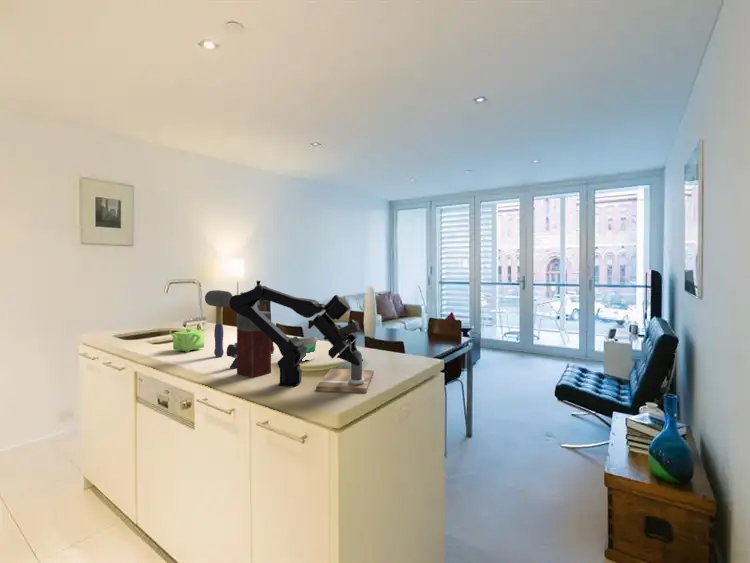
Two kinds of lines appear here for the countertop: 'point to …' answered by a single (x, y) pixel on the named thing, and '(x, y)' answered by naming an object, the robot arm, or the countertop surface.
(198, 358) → the countertop surface
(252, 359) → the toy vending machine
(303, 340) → the food container
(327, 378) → the board
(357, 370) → the grey domed cylinder
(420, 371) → the countertop surface
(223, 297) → the rubber mallet
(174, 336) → the teapot
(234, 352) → the gun
